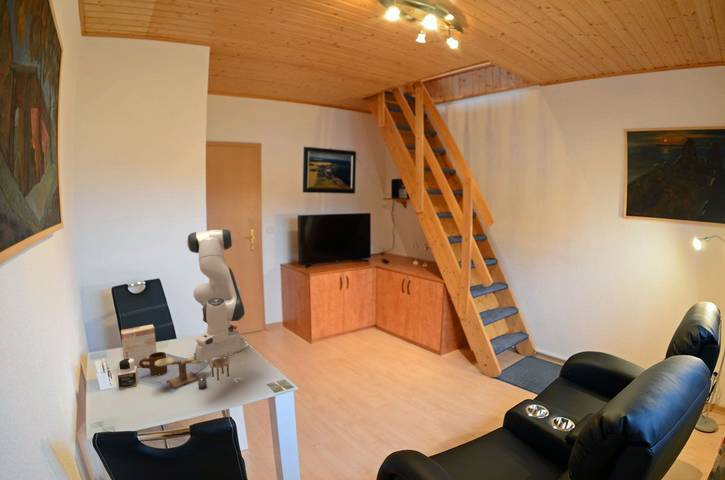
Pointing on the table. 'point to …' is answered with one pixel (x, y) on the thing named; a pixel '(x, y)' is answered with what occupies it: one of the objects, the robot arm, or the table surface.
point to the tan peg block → (220, 366)
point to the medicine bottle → (127, 374)
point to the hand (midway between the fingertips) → (219, 364)
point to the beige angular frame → (238, 378)
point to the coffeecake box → (138, 343)
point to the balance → (180, 371)
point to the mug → (152, 359)
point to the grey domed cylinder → (202, 383)
